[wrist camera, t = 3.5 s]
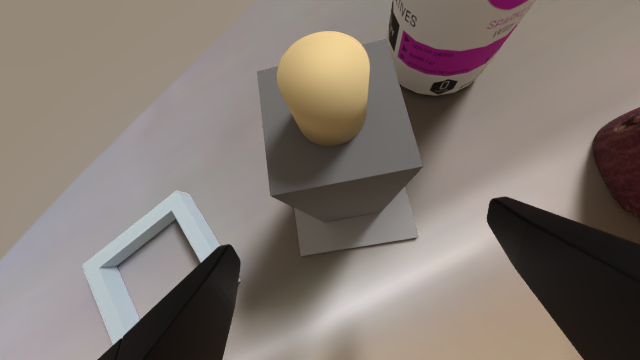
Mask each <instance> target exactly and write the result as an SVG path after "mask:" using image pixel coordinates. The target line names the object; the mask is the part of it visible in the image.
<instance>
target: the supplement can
mask: <svg viewBox="0 0 640 360" xmlns="http://www.w3.org/2000/svg"><path fill="white" fill-rule="evenodd" d="M535 1H536V0H393V2H392V9H391V16H390V22H389V29H388V36H387V44H388V47H389V51H390V54H391V58H392V61H393V65H394V68H395V71H396V75H397V78H398V82H399V84H400V85H401V86H403V87H405V88H407V89H409V90H412V91H414V92H416V93H419V94H427V95H435V96H437V95H443V94H449V93H455V92H456V91H458V90H460V89H462V88H464V87H466V86H468V85H470V84H471V83H472V82H473V81H474V80H475V79H476V78H477V77H478V76H479V75H480V74H481V73H482V71H483V70H484V69H485V67H486V66H487V65H488V63H489V62H490V61H491V59H492V58H493V57H494V55H495V54H496V53H497V51H498V50H499V49H500V47H501V46H502V45H503V43H504V42H505V41H506V39H507V38H508V37H509V35H510V34H511V33H512V31H513V30H514V29H515V27H516V26H517V25H518V23H519V22H520V21H521V19H522V18H523V17H524V15H525V14H526V13H527V11H528V10H529V9H530V7H531V6H532V5H533V3H534V2H535Z"/></svg>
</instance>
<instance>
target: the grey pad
mask: <svg viewBox="0 0 640 360" xmlns="http://www.w3.org/2000/svg"><path fill="white" fill-rule="evenodd" d="M294 211H295V219H296V227H297V234H298V242H299V249H300V256H306V255H312V254H318V253H324V252H330V251H336V250H343V249H349V248H355V247H361V246H367V245H373V244H379V243H386V242H392V241H398V240H404V239H410V238H416V237H419V236H418V232H417V228H416V225H415V221H414V217H413V213H412V210H411V206H410V202H409V198H408V195H407V191H406V187H404V188H403V189H402V190H401V191H400V192H399V193H398V194H397V196H396V197H395V198H394V199H393V200H392V201H391V202H390V203H389V204H388V205H387V206H386V208H385V209H384V210H383V211H382V212H380V213H374V214H369V215H363V216H357V217H352V218H346V219H340V220H335V221H329V222H322V221H320V220H318V219H316V218H314V217H312V216H310V215H308V214H306V213H304V212H302V211H300V210H298V209H296V208H294Z"/></svg>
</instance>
